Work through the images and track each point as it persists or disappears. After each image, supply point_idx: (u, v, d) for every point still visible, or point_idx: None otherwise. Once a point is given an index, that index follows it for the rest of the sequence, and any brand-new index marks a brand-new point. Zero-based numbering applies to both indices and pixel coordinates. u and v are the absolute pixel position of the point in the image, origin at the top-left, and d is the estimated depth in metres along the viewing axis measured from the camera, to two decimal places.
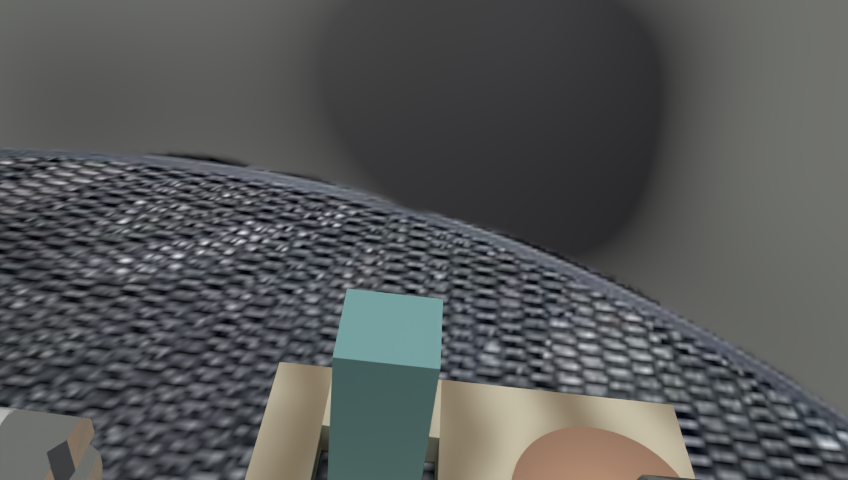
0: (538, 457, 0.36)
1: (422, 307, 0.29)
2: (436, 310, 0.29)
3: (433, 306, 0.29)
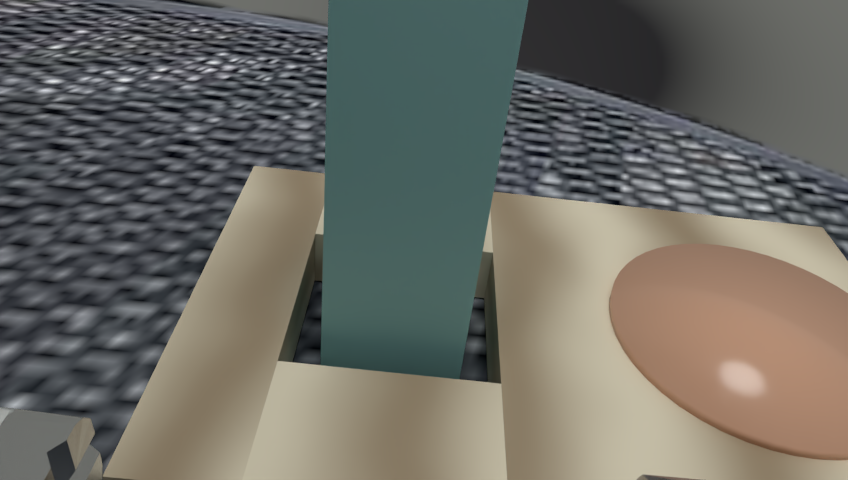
0: (646, 275, 0.23)
1: None
2: None
3: None
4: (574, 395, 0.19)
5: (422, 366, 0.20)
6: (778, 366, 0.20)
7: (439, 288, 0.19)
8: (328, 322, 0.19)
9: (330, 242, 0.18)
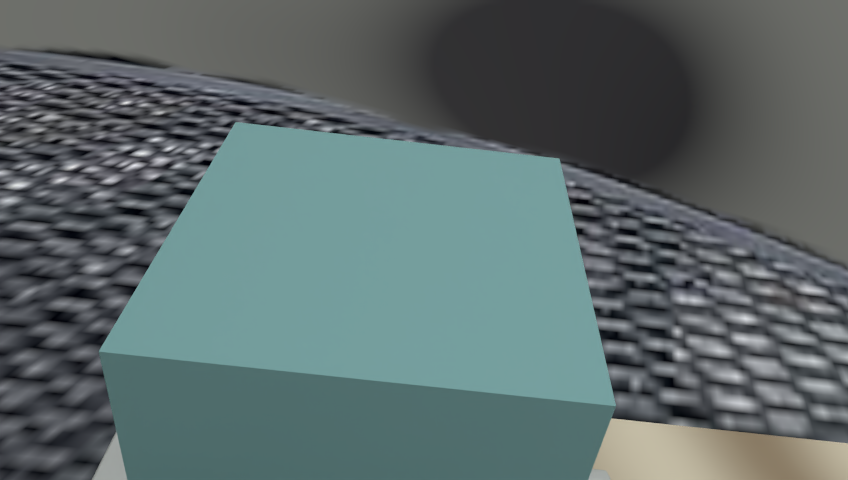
0: None
1: (494, 177, 0.08)
2: (544, 187, 0.08)
3: (530, 175, 0.08)
4: None
5: None
6: None
7: None
8: None
9: None
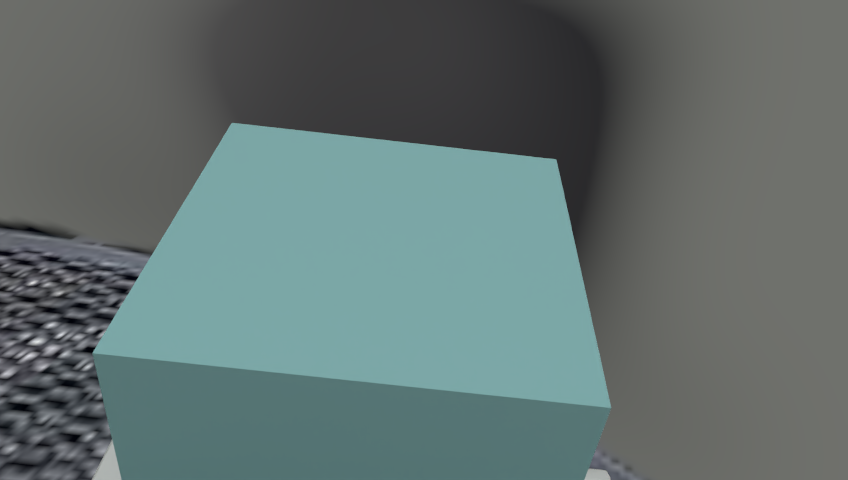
0: None
1: (491, 178, 0.08)
2: (541, 188, 0.08)
3: (527, 176, 0.08)
4: None
5: None
6: None
7: None
8: None
9: None
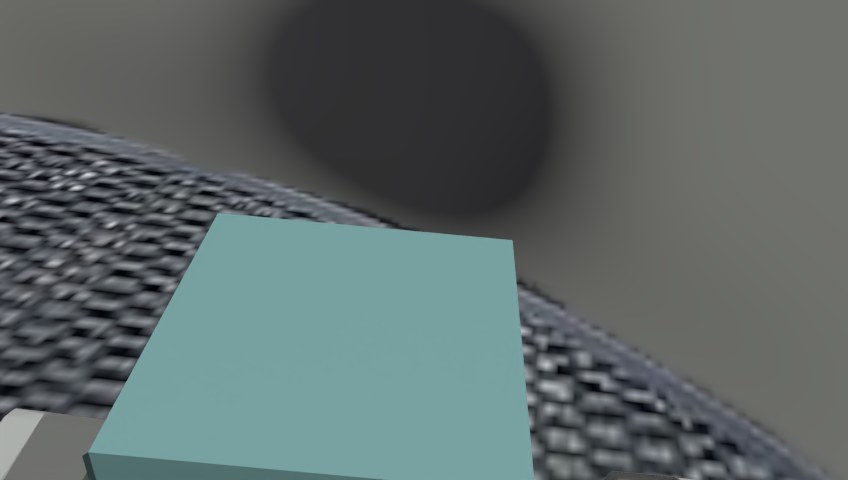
0: None
1: (450, 263, 0.09)
2: (495, 271, 0.09)
3: (484, 259, 0.09)
4: None
5: None
6: None
7: None
8: None
9: None
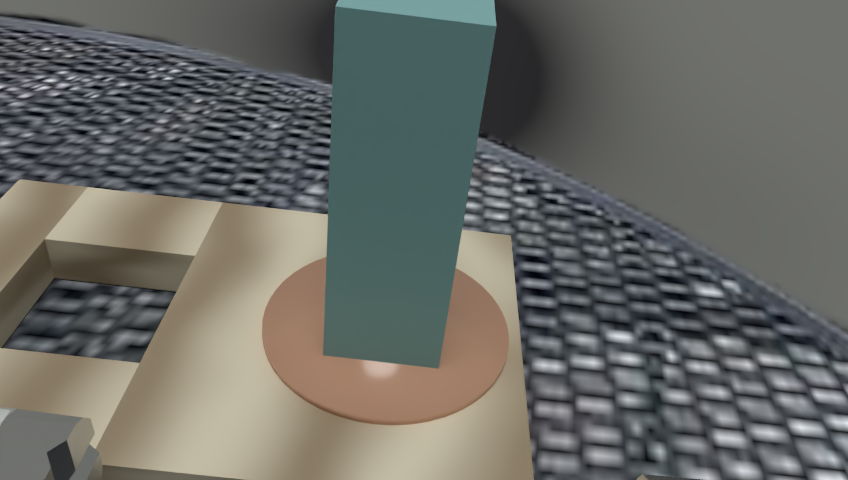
0: (315, 276, 0.28)
1: None
2: None
3: None
4: (198, 372, 0.24)
5: (410, 335, 0.24)
6: None
7: (424, 268, 0.22)
8: (331, 296, 0.23)
9: (333, 228, 0.21)
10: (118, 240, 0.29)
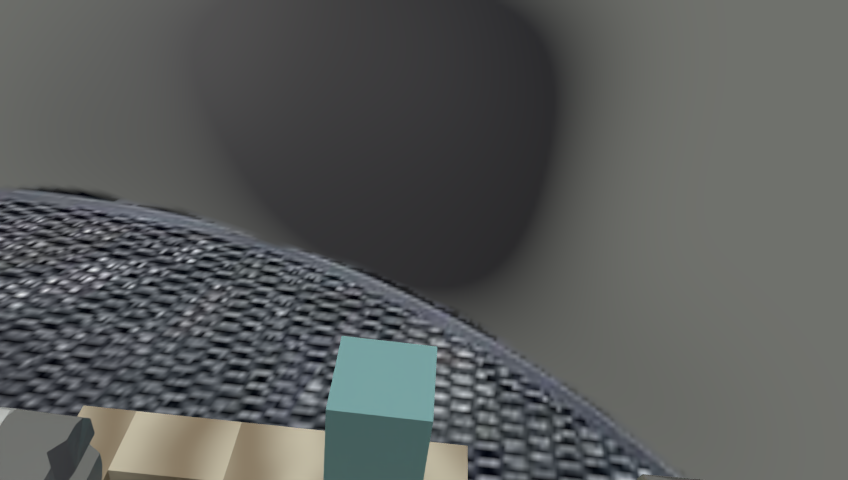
0: None
1: (416, 355, 0.29)
2: (430, 358, 0.29)
3: (427, 354, 0.29)
4: None
5: None
6: None
7: None
8: None
9: None
10: (164, 468, 0.38)
